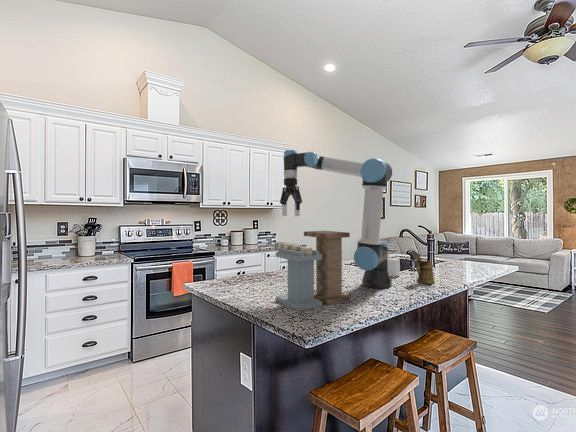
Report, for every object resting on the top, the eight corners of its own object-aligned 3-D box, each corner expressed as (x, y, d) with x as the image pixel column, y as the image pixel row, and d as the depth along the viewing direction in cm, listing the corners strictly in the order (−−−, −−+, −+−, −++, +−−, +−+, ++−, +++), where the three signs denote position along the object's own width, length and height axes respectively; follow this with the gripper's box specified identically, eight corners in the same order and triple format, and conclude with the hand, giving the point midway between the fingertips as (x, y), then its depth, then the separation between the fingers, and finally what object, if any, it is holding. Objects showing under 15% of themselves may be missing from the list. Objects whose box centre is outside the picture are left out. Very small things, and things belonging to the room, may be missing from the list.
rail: (274, 249, 157) (274, 242, 157) (280, 249, 159) (280, 242, 159) (305, 256, 135) (305, 248, 135) (312, 255, 137) (312, 247, 136)
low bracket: (275, 300, 148) (275, 248, 148) (298, 296, 154) (298, 247, 154) (297, 310, 132) (297, 252, 132) (322, 306, 139) (321, 250, 138)
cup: (402, 276, 200) (402, 259, 200) (384, 277, 197) (384, 260, 197) (394, 274, 208) (394, 257, 208) (377, 275, 205) (377, 258, 205)
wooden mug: (406, 281, 186) (406, 249, 186) (426, 280, 190) (426, 248, 190) (417, 284, 177) (417, 251, 177) (438, 283, 182) (438, 250, 181)
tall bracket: (304, 296, 156) (303, 231, 155) (324, 292, 162) (324, 230, 161) (327, 305, 140) (327, 233, 140) (349, 301, 146) (349, 232, 146)
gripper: (274, 179, 197) (274, 215, 197) (296, 175, 175) (296, 216, 176) (285, 180, 200) (285, 215, 201) (308, 176, 179) (308, 216, 179)
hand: (290, 216), depth 188 cm, fingers open, 13 cm apart
